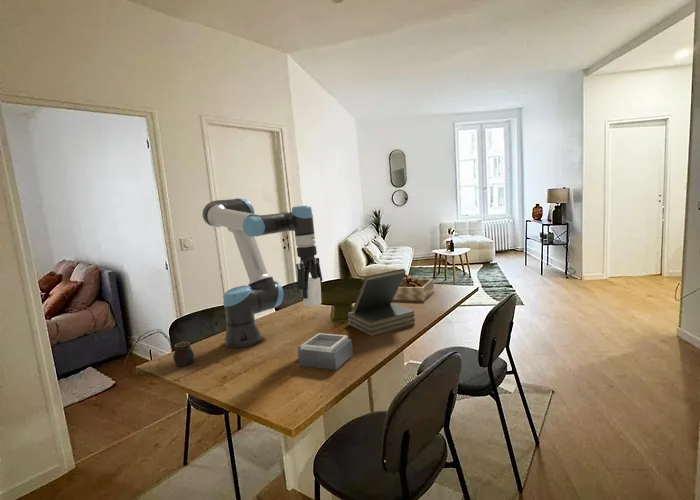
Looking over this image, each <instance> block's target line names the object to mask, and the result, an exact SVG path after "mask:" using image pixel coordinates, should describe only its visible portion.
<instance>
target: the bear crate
mask: <svg viewBox="0 0 700 500" xmlns="http://www.w3.org/2000/svg"><path fill="white" fill-rule="evenodd" d="M406 282H407V281H406V279H405V278H403V279H402V281H401V283H400V286H399V288H398V290H397V292H396V294H395V296H394V298H393V300H392V301H396V300H397V301H419V302H424V301H426V299H428V298H429V296H430V295H431V294H432V293H434V291H435V286H434V278H417V282H419V283H421V286H420V287H407V285H406Z"/></svg>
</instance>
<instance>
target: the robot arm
mask: <svg viewBox="0 0 700 500" xmlns="http://www.w3.org/2000/svg"><path fill="white" fill-rule="evenodd" d="M202 218H203V220H204V222H205V224H207V225H208V226H211V227H214V228H221V227H223V228H227V231H228V232H231V233H232V234H233V237H234V240H235V242H236V246H237V248H238V251H239V254H240V257H241V261H242V263H243V266H244V268H245V271H246V274H247V278H248V281H249V282H248V284H247V285H240V286H236V287H233V288H229V290H226V291H225V292H224V294H223V306H224V307H223V308H224V314H225V318H226V319H225V320H226V321H225V322H226V330H225V331H226V332H225V338H224V345H225V347H227V348H230V349H240V348H247V347H250V346H253V345H255V344H257V343H259V342H260V341H261V340H262V333H261V332H260V330H259V328H258V326H257V324H256V320H255V314H259V313H262V312H265V311H268V310H272V309H274V308H278V307H279V306H281V304H282V302H283V299H284V289H283V287H282V285H281V283H279V282H280V281H279V282H278V280H277V281H276V280H275V279H274V278H273V276H271V275H269V274H268V271H267V268H266V266H265V262H264V259H263V256H262V254H261V251H260V248H259V245H258V243H257V239H256V238H255V237H259V236H264V235H265V236H266V235H272V234H279V233H285V232H294V238H295V239H294V240H295V247H296V255H297V257H298V258H300V261H299V263H296V264H295V268H296V272H297V273H296V276H297V290H298V291H301V290H302V291H301V295H303V296H302V300H303V302H302V303H303V307H310V308H311V307H312V306H311V301H310V293H309V290H308V279H309V278H310V277H312V278H313V279H316V278H317V277H319V278H320V285H322V284H323V275H322V272H321V271H322V270H321V265H320V258H319V257H315V256H316V255H317V254H318V250H317V245H316V235H315V228H314V227H315V226H314V215H313V211H312V207H311V205H307V204H306V205H298V206H293V207H291V211H289V212H288V211H287V212H278V213H273V214H272V213H270V214H261V215H260V214H255V209H254V206H253V205H252V203H251V201H249V200H248V199H245V198H238V197H236V198H229V199H217V200H215V199H214V200H212V201H210V202H208V203H207V204H206V205H205V206H204V207H203V209H202ZM309 276H310V277H309Z"/></svg>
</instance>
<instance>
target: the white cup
mask: <svg viewBox="0 0 700 500" xmlns="http://www.w3.org/2000/svg"><path fill="white" fill-rule="evenodd" d="M321 285H322V284H320V278H319V277H317V278H316V279H313V278H312V277H311V276H310V277H309V279H308V290H309V293H310V301H311V306H310V307H315V306H319V305H321V304H322V288H321ZM300 292H302V290H300ZM301 295H302V294H301ZM302 297H303V295H302Z"/></svg>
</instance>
